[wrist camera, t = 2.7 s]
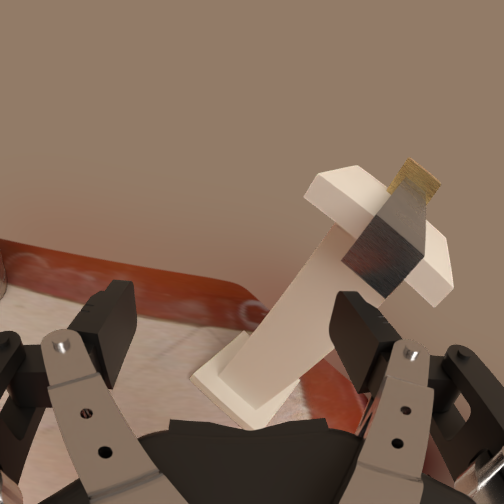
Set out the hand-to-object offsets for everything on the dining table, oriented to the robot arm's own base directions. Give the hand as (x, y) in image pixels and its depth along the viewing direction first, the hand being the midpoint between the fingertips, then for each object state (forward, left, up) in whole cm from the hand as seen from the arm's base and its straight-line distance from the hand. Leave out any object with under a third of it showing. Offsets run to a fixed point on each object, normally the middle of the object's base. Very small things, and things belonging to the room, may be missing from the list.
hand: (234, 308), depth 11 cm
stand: (+16, +6, -29) cm, 34 cm away
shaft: (+14, +4, +3) cm, 15 cm away
